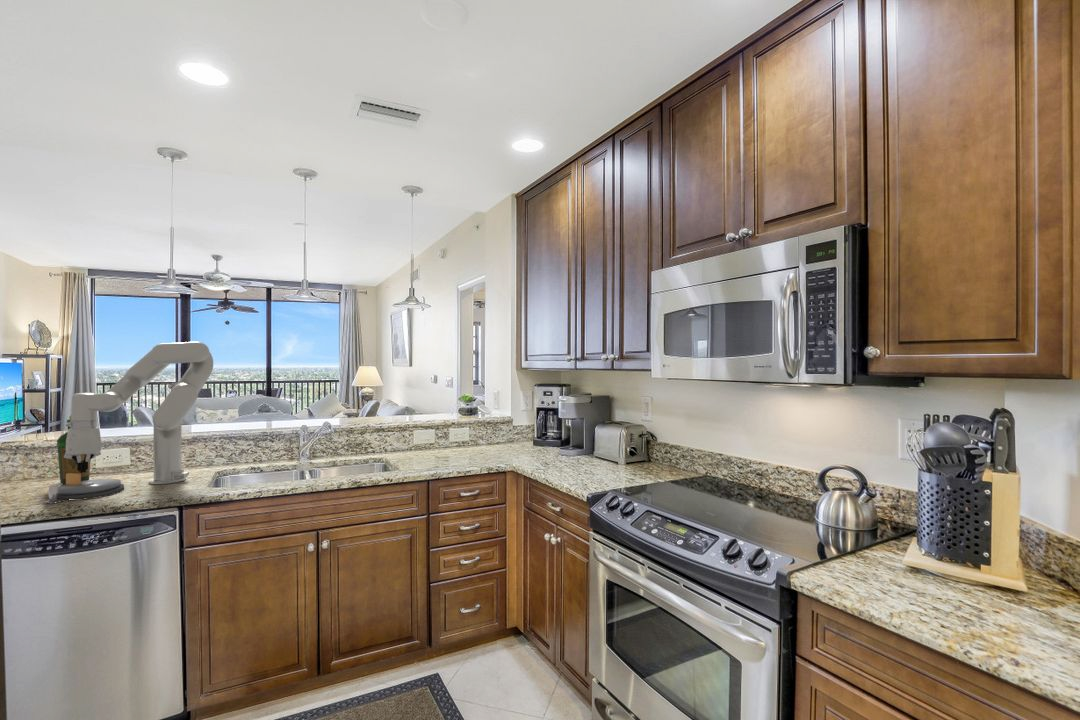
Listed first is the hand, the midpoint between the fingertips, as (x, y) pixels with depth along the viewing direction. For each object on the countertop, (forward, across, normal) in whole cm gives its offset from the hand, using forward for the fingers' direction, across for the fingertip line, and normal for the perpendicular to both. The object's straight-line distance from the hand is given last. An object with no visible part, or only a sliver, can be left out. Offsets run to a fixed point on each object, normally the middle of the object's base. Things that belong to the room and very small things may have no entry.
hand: (82, 472), depth 202 cm
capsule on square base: (+7, -10, -14) cm, 19 cm away
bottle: (+8, 0, +14) cm, 16 cm away
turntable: (+5, +1, -7) cm, 9 cm away
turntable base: (+7, +1, -7) cm, 10 cm away
